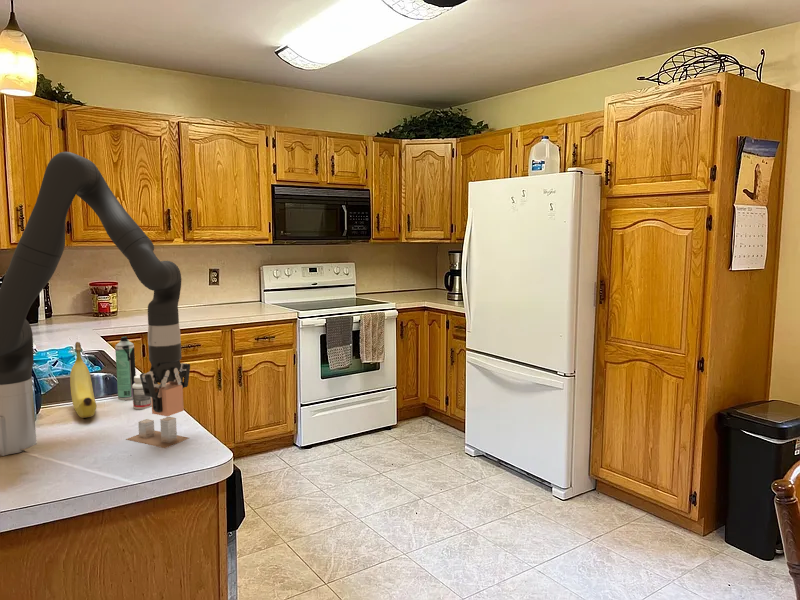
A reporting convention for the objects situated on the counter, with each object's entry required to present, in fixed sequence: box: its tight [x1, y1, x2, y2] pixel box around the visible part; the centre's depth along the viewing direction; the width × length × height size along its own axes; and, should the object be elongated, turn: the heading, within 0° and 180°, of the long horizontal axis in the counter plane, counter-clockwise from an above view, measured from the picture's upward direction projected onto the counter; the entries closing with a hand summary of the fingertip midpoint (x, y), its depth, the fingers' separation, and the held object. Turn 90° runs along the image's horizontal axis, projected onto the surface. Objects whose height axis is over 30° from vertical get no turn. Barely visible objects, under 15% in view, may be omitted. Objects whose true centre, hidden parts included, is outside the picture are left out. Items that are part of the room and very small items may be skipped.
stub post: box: [137, 418, 155, 438], centre depth 150 cm, size 3×3×4 cm
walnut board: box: [125, 429, 190, 449], centre depth 149 cm, size 8×14×1 cm, turn 64°
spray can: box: [114, 336, 137, 401], centre depth 187 cm, size 6×6×20 cm
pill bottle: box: [132, 374, 152, 410], centre depth 177 cm, size 5×5×10 cm
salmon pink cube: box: [151, 382, 185, 417], centre depth 146 cm, size 5×5×7 cm
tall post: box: [159, 416, 178, 443], centre depth 146 cm, size 3×3×6 cm
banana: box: [69, 341, 97, 419], centre depth 170 cm, size 23×6×20 cm, turn 34°
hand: (167, 408), depth 146 cm, fingers closed on salmon pink cube, 5 cm apart
